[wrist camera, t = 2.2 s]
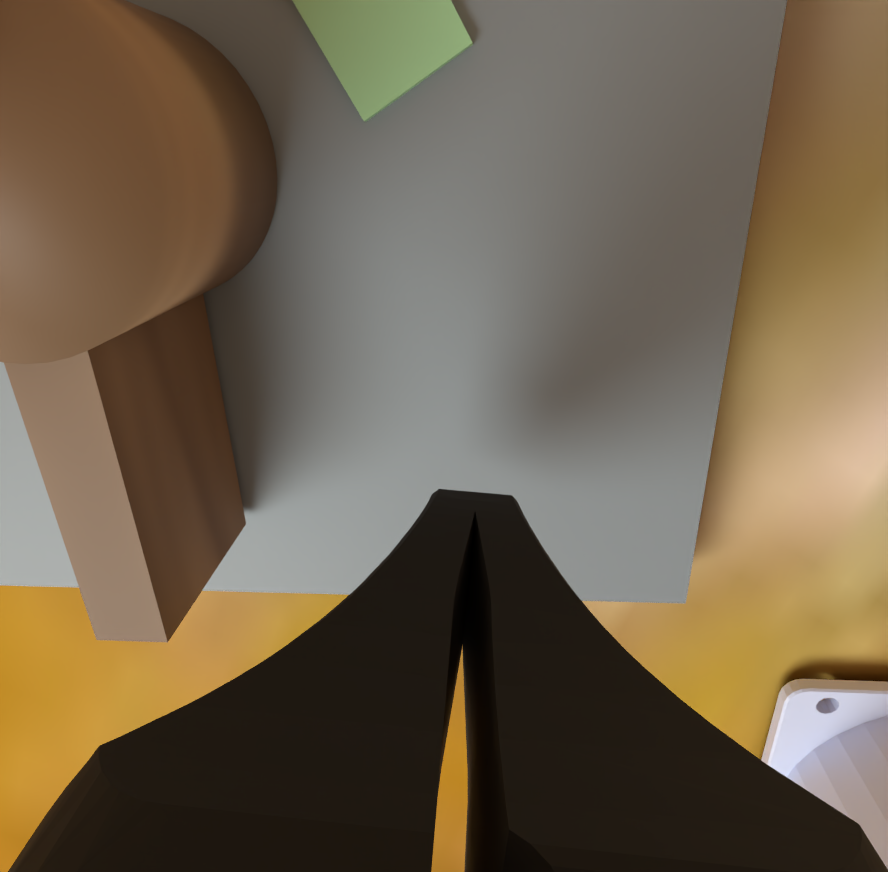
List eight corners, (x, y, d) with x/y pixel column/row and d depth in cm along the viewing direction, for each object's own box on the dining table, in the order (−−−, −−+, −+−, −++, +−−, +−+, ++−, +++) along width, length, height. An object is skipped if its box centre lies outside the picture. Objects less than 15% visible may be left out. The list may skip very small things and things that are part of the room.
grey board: (827, -457, 8) (879, -552, 7) (671, 569, 15) (685, 603, 14) (-423, -330, 9) (-544, -393, 8) (-47, 553, 16) (-85, 583, 15)
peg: (225, -232, 8) (-44, -617, 4) (321, 521, 13) (242, 692, 9) (-81, -207, 9) (-618, -540, 4) (123, 518, 14) (-41, 681, 9)
